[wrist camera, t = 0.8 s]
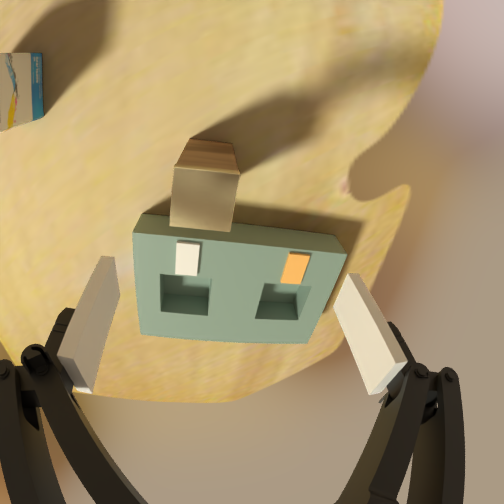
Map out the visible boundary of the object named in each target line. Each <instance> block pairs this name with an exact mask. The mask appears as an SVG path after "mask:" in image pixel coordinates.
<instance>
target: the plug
mask: <svg viewBox="0 0 504 504" xmlns="http://www.w3.org/2000/svg"><path fill="white" fill-rule="evenodd" d="M239 179H240V171H238V166H237V162H236V158H235V153H234V149H233V145H232V143H224V142H216V141H208V140H199V139H189V141H188V142H187V144H186V146H185V148H184V150H183V152H182V154H181V156H180V158H179V160H178V162H177V164H175V166H174V170H173V181H172V194H171V208H170V226H174V227H184V228H194V229H204V230H214V231H224V232H230V230H231V224H232V218H233V212H234V207H235V201H236V195H237V190H238V184H239Z"/></svg>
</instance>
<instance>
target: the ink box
mask: <svg viewBox="0 0 504 504" xmlns="http://www.w3.org/2000/svg"><path fill="white" fill-rule="evenodd" d="M43 116H44V112H43V90H42V53H0V133H2V132H5V131H7V130H10V129H12V128H15V127H18V126H20V125H23V124H26V123H28V122H31V121H34V120H37V119H40V118H42V117H43Z"/></svg>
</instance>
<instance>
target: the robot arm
mask: <svg viewBox="0 0 504 504" xmlns="http://www.w3.org/2000/svg"><path fill="white" fill-rule="evenodd" d="M119 298H120V291H119V285H118V279H117V272H116V265H115V258H114V257H109V256H101V258H100V260H99V262H98V264H97V266H96V268H95V269H94V271H93V273H92V275H91V277H90V279H89V281H88V283H87V286H86V288H85V290H84V292H83V294H82V296H81V298H80V300H79V303H78V305H77V307H76V309H72V308H65V309H64V310H63V311H62V312H61V313H60V314H59V315H58V318H57V320H56V322H55V325H54V326H53V329H52V331H51V333H50V335H49V338H48V340H47V342H46V345H45V347H44V346H42V345H40V344H32V345H29V346H28V347H26V348H25V349H24V351H23V352H22V355H21V363H22V364H23V366H14V365H13V364H12V362H11V361H9V360H5V359H3V360H0V461H1V466H2V471H3V475H4V479H5V482H6V487H7V490H8V494H9V497H10V500H11V504H66V502H65V500H64V497H63V494H62V492H61V489H60V486H59V484H58V480H57V477H56V474H55V471H54V468H53V465H52V462H51V458H50V454H49V450H48V447H47V442H46V438H45V434H44V429H43V425H42V420H41V414H40V409H39V407H42V409H43V411H44V413H45V416H46V418H47V420H48V422H49V425H50V427H51V429H52V431H53V433H54V435H55V437H56V439H57V441H58V443H59V445H60V447H61V448H62V450H63V452H64V454H65V456H66V458H67V459H68V461H69V463H70V465H71V466H72V468H73V470H74V471H75V473H76V474H77V476H78V478H79V479H80V481H81V482H82V484H83V485H84V487H85V488H86V490H87V491H88V493H89V494H90V496H91V497H92V498H93V500H94V501H95V503H96V504H148V503H147V502H146V501H145V500H144V498H142V496H141V495H140V494H139V493H138V491H137V490H136V489H135V488H134V487H133V486H132V484H131V483H130V482H129V480H128V479H127V478H126V477H125V475H124V474H123V473H122V471H121V470H120V469H119V467H118V466H117V465H116V463H115V462H114V460H113V459H112V458H111V456H110V455H109V453H108V452H107V450H106V449H105V447H104V446H103V444H102V443H101V441H100V440H99V438H98V437H97V435H96V434H95V432H94V430H93V428H92V427H91V425H90V424H89V422H88V420H87V418H86V417H85V415H84V413H83V411H82V410H81V408H80V406H79V404H78V402H77V400H76V399H75V396H74V395H73V393H72V389H73V385H74V386H75V387H76V389H77V391H81V392H86V393H91V394H92V393H93V388H94V384H95V380H96V376H97V372H98V368H99V364H100V360H101V357H102V353H103V349H104V346H105V342H106V339H107V336H108V332H109V329H110V326H111V323H112V319H113V316H114V313H115V310H116V307H117V304H118V301H119ZM333 308H334V311H335V313H336V315H337V318H338V320H339V322H340V325H341V327H342V329H343V332H344V334H345V336H346V339H347V341H348V344H349V346H350V348H351V351H352V353H353V356H354V358H355V361H356V363H357V366H358V368H359V370H360V373H361V376H362V378H363V381H364V383H365V386H366V388H367V391H368V394H369V395H371V394H377V393H381V392H382V391H383V390H384V388H385V387H386V386H387V389H388V392H387V393H386V394H385V395H384V396H383V398H382V399H381V400H380V401H379V403H381V402H382V401H383V400H384V401H383V404H382V406H381V409H380V412H379V415H378V417H377V420H376V422H375V425H374V427H373V430H372V432H371V435H370V437H369V439H368V442H367V444H366V446H365V448H364V450H363V453H362V455H361V457H360V459H359V461H358V463H357V465H356V467H355V469H354V471H353V473H352V475H351V477H350V479H349V481H348V483H347V485H346V487H345V488H344V490H343V492H342V494H341V496H340V497H339V499H338V500H337V501H336V503H334V504H399V503H398V501H397V500H396V498H397V495H398V492H399V490H400V487H401V485H402V482H403V479H404V477H405V474H406V471H407V468H408V465H409V462H410V459H411V456H412V453H413V460H412V470H411V478H410V486H409V493H408V499H407V504H463V497H464V481H465V437H464V421H463V410H462V400H461V392H460V385H459V378H458V375H457V373H456V372H455V371H454V370H453V369H452V368H449V367H445V368H443V369H442V370H441V371H440V372H439V373H437V372H430V371H429V370H428V369H427V367H426V366H424V365H423V364H420V363H416V361H415V359H414V357H413V356H412V354H411V352H410V350H409V348H408V346H407V344H406V342H404V339H403V337H401V333H400V332H399V330H398V328H397V327H396V326H395V325H394V324H393V323H392V322H387V321H386V320H385V318H384V316H383V314H382V313H381V311H380V309H379V307H378V306H377V304H376V302H375V300H374V299H373V297H372V296H371V294H370V292H369V290H368V289H367V287H366V285H365V284H364V282H363V280H362V279H361V277H360V275H359V274H356V273H348V274H347V276H346V278H345V281H344V283H343V285H342V288H341V290H340V292H339V295H338V297H337V299H336V301H335V304H334V306H333ZM437 403H438V408H437Z"/></svg>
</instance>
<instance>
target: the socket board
mask: <svg viewBox="0 0 504 504" xmlns="http://www.w3.org/2000/svg"><path fill="white" fill-rule="evenodd" d="M132 234H133V258H134V273H135V286H136V297H137V307H138V316H139V324H140V332H141V334H142V335H150V336H159V337H168V338H179V339H190V340H203V341H218V342H238V343H271V344H307V343H308V341H309V339H310V337H311V335H312V333H313V331H314V329H315V327H316V325H317V322H318V320H319V318H320V316H321V314H322V312H323V310H324V307H325V305H326V303H327V301H328V299H329V297H330V294H331V292H332V290H333V288H334V285H335V283H336V281H337V278H338V276H339V274H340V271H341V269H342V267H343V264H344V262H345V259H346V257H347V253H346V252H345V250H344V249H343V247H342V245H341V244H340V243H339V241H338V240H337V238H336V237H335V235H329V234H322V233H314V232H307V231H299V230H291V229H283V228H275V227H266V226H258V225H249V224H241V223H232V224H231V230H230V232H224V231H214V230H204V229H194V228H184V227H174V226H170V216H163V215H153V214H141V216H140V218H139V220H138V222H137V224H136V226H135V228H134V230H133V232H132Z"/></svg>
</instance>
